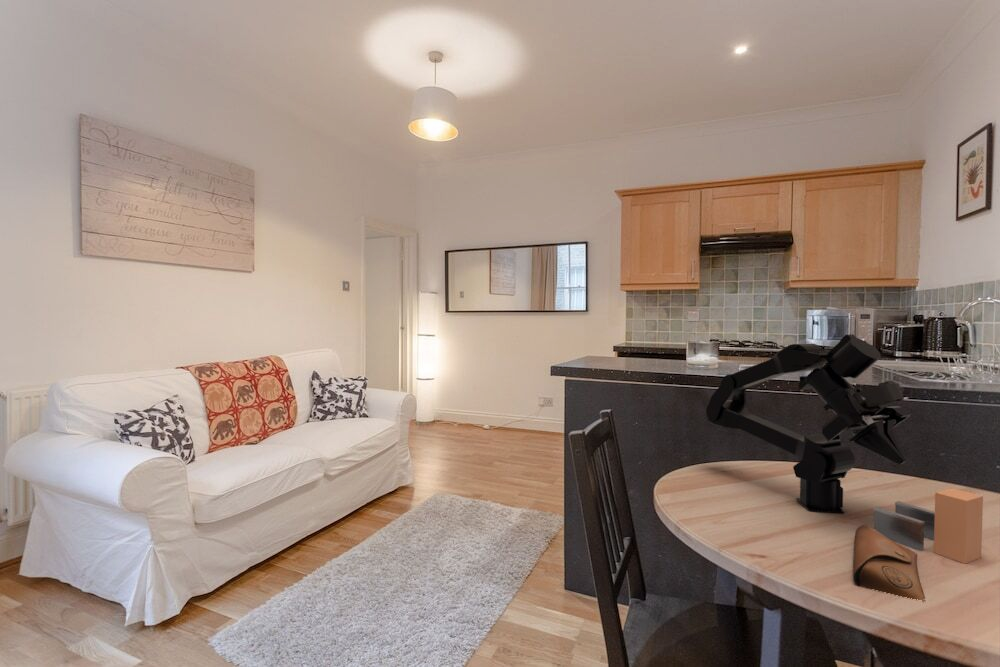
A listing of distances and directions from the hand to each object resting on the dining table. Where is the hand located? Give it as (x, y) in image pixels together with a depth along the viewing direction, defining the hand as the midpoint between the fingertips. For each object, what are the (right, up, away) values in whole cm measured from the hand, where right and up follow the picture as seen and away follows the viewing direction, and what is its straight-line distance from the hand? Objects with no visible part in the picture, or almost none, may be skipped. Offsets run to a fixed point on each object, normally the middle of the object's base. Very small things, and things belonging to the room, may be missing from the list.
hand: (902, 462), depth 85 cm
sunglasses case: (-11, -14, -10) cm, 21 cm away
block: (+3, -13, -7) cm, 15 cm away
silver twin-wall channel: (0, -13, -1) cm, 13 cm away
